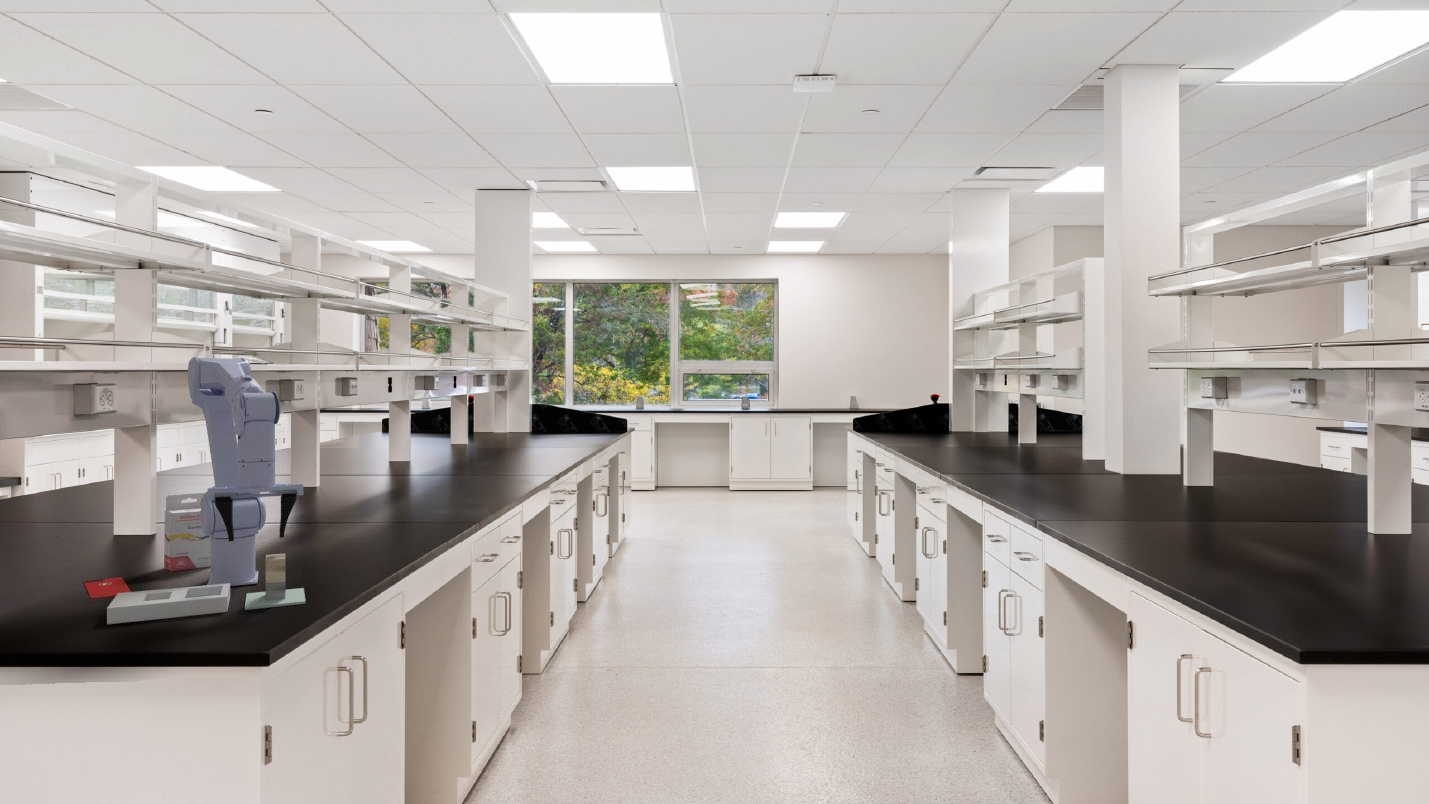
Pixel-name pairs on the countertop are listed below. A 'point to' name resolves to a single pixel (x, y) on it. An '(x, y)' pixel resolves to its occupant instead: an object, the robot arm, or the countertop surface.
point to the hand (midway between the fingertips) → (256, 538)
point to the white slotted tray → (168, 603)
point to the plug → (275, 577)
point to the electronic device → (106, 587)
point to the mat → (260, 601)
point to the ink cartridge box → (185, 534)
